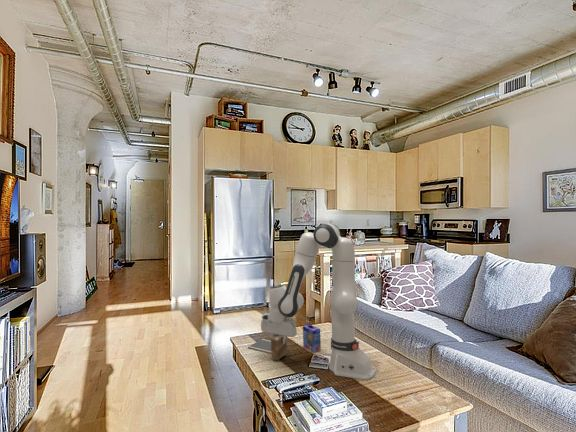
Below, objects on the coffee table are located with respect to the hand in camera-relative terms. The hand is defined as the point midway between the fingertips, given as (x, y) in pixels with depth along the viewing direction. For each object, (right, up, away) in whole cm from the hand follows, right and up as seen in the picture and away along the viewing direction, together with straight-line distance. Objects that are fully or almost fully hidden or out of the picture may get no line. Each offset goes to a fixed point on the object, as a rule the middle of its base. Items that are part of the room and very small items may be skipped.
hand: (278, 342), depth 173 cm
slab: (0, -7, 0) cm, 7 cm away
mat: (-8, -9, +16) cm, 19 cm away
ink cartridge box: (+18, -9, +13) cm, 24 cm away
